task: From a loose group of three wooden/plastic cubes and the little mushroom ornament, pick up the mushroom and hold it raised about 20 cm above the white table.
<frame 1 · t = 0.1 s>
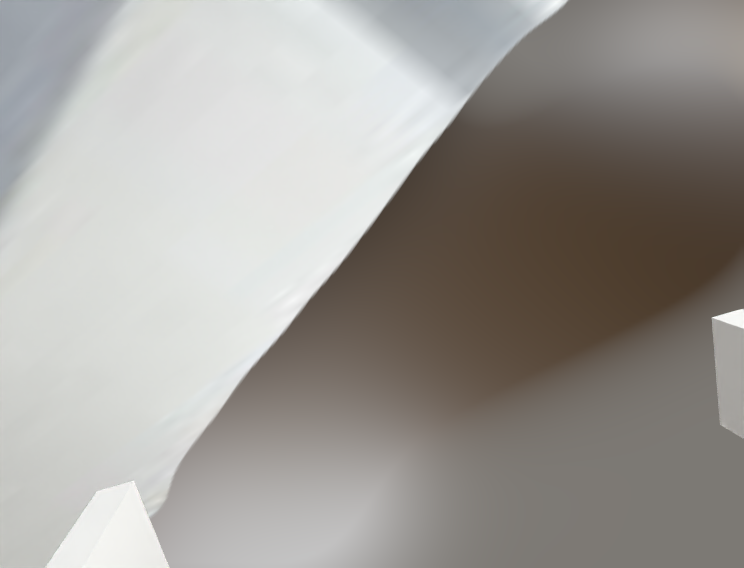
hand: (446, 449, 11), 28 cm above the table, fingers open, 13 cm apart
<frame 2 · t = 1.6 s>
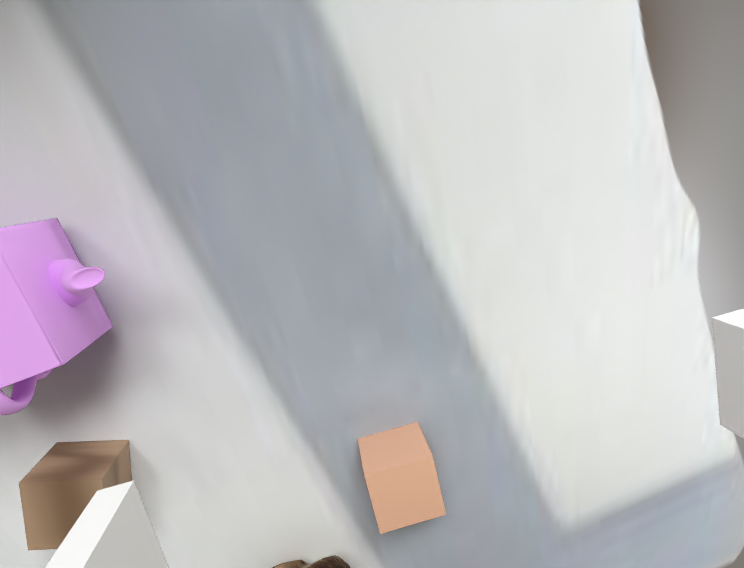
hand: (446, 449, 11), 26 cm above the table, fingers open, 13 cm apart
teapot: (25, 284, 34), on the table
terracotta cube: (394, 456, 40), on the table
walnut cube: (96, 470, 37), on the table
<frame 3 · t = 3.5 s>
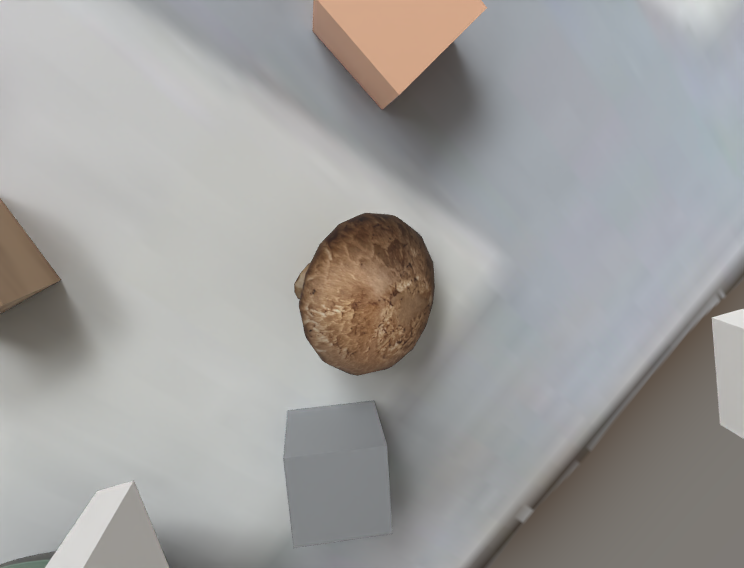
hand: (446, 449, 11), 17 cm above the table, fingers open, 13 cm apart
mushroom: (363, 281, 27), on the table
slate cube: (334, 443, 29), on the table
terracotta cube: (383, 35, 25), on the table
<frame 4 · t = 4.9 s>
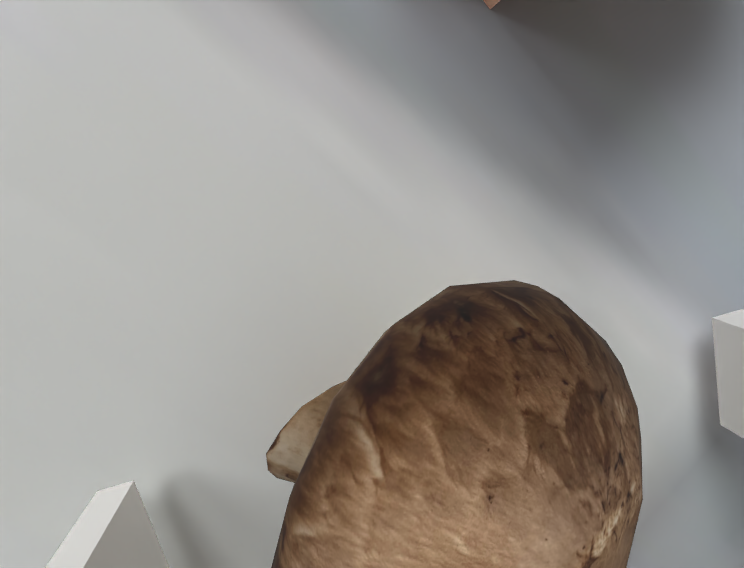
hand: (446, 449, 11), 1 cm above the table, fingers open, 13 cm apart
mushroom: (427, 418, 12), on the table
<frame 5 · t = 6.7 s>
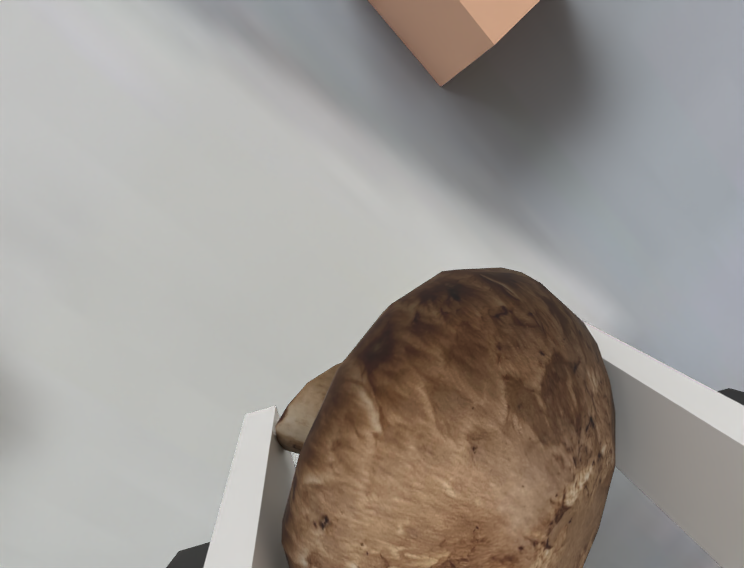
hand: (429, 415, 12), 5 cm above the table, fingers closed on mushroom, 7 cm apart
mushroom: (423, 397, 13), point 4 cm above the table, touching gripper
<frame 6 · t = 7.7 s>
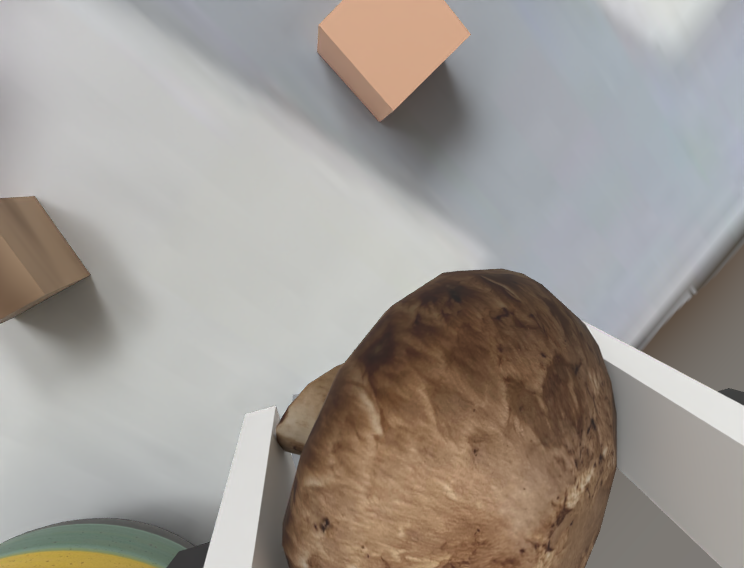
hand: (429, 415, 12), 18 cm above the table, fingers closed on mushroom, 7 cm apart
mushroom: (424, 399, 13), point 17 cm above the table, touching gripper
terracotta cube: (381, 55, 27), on the table
walnut cube: (24, 258, 27), on the table
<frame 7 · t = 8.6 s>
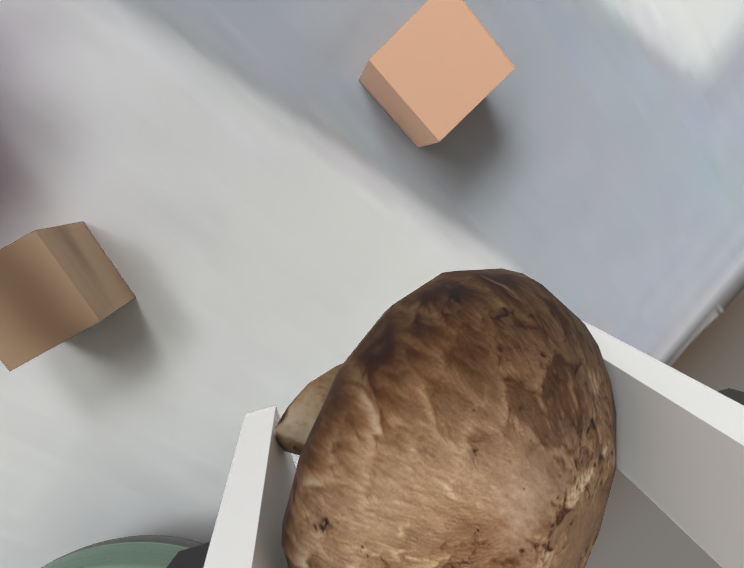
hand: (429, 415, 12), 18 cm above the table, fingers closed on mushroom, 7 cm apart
mushroom: (424, 399, 13), point 17 cm above the table, touching gripper
terracotta cube: (420, 83, 28), on the table
walnut cube: (72, 281, 28), on the table
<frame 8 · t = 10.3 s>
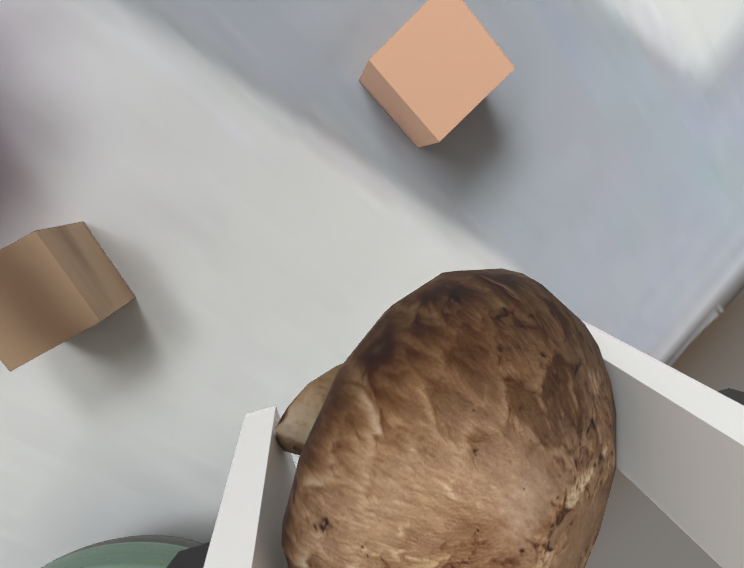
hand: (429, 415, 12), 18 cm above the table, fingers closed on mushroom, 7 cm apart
mushroom: (424, 399, 13), point 17 cm above the table, touching gripper
terracotta cube: (420, 83, 28), on the table
walnut cube: (72, 281, 28), on the table
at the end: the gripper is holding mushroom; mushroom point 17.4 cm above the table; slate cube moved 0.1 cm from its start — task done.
